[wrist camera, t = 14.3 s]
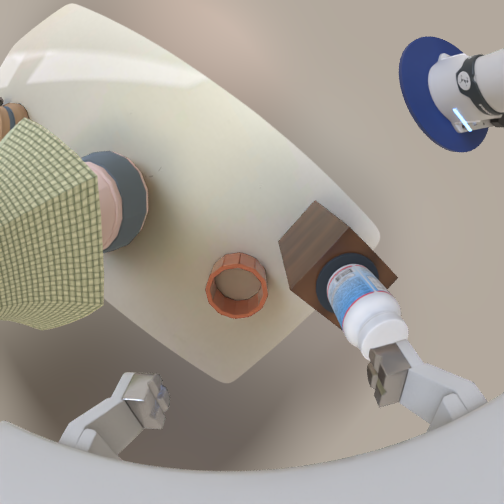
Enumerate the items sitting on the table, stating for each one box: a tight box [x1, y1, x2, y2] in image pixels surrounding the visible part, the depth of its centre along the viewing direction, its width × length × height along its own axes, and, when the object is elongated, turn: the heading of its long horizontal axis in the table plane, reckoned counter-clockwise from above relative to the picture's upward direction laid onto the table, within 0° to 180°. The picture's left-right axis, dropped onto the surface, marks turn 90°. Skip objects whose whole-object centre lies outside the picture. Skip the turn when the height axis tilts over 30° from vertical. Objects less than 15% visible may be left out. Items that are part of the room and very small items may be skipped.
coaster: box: [316, 253, 379, 314], centre depth 32 cm, size 8×8×1 cm
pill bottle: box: [327, 264, 409, 360], centre depth 26 cm, size 6×6×11 cm
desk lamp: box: [0, 117, 148, 330], centre depth 29 cm, size 26×28×42 cm
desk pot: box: [205, 253, 268, 319], centre depth 51 cm, size 11×11×6 cm
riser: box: [278, 201, 398, 330], centre depth 41 cm, size 10×10×19 cm
